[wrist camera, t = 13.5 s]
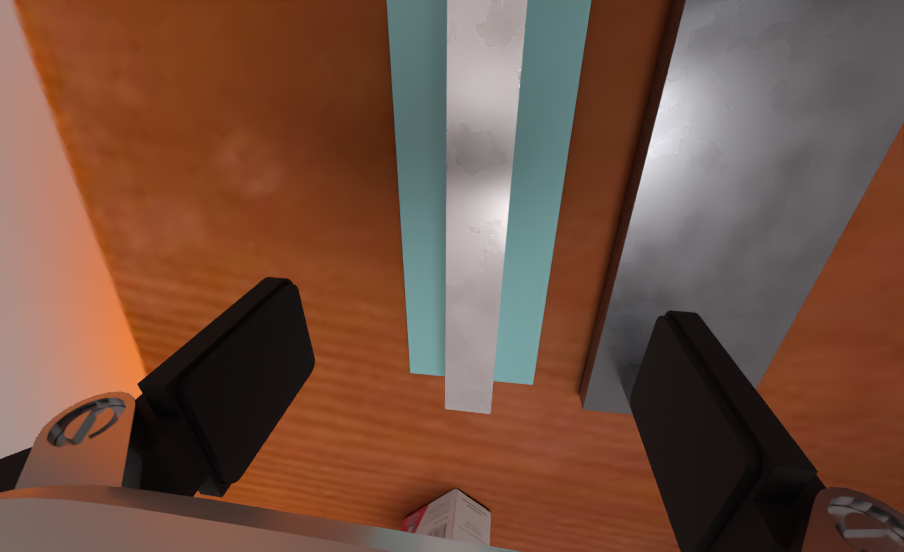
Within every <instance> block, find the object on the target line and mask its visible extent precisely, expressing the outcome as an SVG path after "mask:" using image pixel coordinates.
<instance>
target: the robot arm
mask: <svg viewBox="0 0 904 552" xmlns="http://www.w3.org/2000/svg"><path fill="white" fill-rule="evenodd" d="M314 364H315V358H314V354H313V350H312V345H311V341H310V337H309V333H308V328H307V324H306V320H305V316H304V311H303V307H302V303H301V299H300V295H299V290H298V287H297V286H296V285H294V284H293V283H292V282H291V280H289V279H285V278H273V277H267V278H265V279H263V280H262V281H261V282H260V283H258V284H257V285H256V286H255V287H254V288H252V289H251V290H250V291H249V292H248V293H246V294H245V295H244V296H243V297H242V298H240V299H239V300H238V301H237V302H236V303H234V304H233V305H232V306H231V307H229V308H228V309H227V310H226V311H225V312H223V313H222V314H221V315H220V316H219V317H217V318H216V319H215V320H214V321H213V322H211V323H210V324H209V325H208V326H207V327H205V328H204V329H203V330H202V331H201V332H199V333H198V334H197V335H196V336H195V337H193V338H192V339H191V340H190V341H189V342H187V343H186V344H185V345H184V346H183V347H181V348H180V349H179V350H178V351H176V352H175V353H174V354H173V355H172V356H170V357H169V358H168V359H167V360H166V361H164V362H163V363H162V364H161V365H160V366H158V367H157V368H156V369H155V370H154V371H152V372H151V373H150V374H149V375H148V376H146V377H145V378H144V379H143V380H142V381H140V382H139V383H138V386H139V388H140V390H141V391H142V393H143V394H142V395H140V396H139V397H138V398H137V399H136V400H135V399H134V398H133V396H131V395H130V394H129V393H124V392H109V393H104V394H100V395H96V396H93V397H90V398H88V399H85V400H83V401H80V402H79V403H76V404H75V405H73V406H71V407H69V408H67V409H65V410H64V411H63V412H61V413H60V414H58V415H57V416H55V417H54V418H53V419H52V420H51V421H49V423H47V424H46V425H45V426H44V427H43V429H42V430H41V431H40V433H39V434H38V436H37V437H36V440H35V442H34V445H33V447H31V448H28V449H25V450H23V451H21V452H18V453H15V454H12V455H10V456H7V457H4V458H2V459H0V552H520V551H514V550H509V549H503V548H497V547H492V546H486V545H480V544H474V543H468V542H462V541H456V540H451V539H445V538H439V537H433V536H427V535H421V534H415V533H409V532H403V531H398V530H392V529H386V528H380V527H374V526H368V525H362V524H356V523H350V522H344V521H338V520H332V519H326V518H320V517H314V516H308V515H302V514H296V513H290V512H283V511H277V510H271V509H265V508H259V507H253V506H247V505H241V504H234V503H228V502H222V501H216V500H210V499H204V498H197V497H193V496H194V495H195V493H196V492H197V491H198V490H199V492H200V494H204V495H210V496H216V497H223V495H224V494H225V492H226V491H227V489H228V488H229V487H230V485H231V484H232V483H235V482H237V481H238V480H239V479H240V478H241V477H242V475H243V474H244V472H245V471H246V469H247V468H248V466H249V465H250V463H251V462H252V460H253V459H254V457H255V456H256V454H257V453H258V451H259V450H260V449H261V447H262V446H263V444H264V443H265V441H266V440H267V438H268V437H269V435H270V434H271V432H272V431H273V429H274V428H275V426H276V425H277V423H278V422H279V420H280V419H281V417H282V416H283V414H284V413H285V411H286V410H287V408H288V407H289V405H290V404H291V402H292V401H293V399H294V398H295V396H296V395H297V393H298V392H299V391H300V389H301V388H302V386H303V385H304V383H305V382H306V380H307V379H308V377H309V376H310V374H311V373H312V371H313V368H314ZM630 406H631V410H632V413H633V416H634V419H635V422H636V424H637V427H638V430H639V433H640V436H641V439H642V442H643V445H644V448H645V450H646V453H647V456H648V459H649V462H650V465H651V468H652V471H653V474H654V476H655V479H656V482H657V485H658V488H659V491H660V494H661V497H662V500H663V503H664V505H665V508H666V511H667V514H668V517H669V520H670V523H671V526H672V529H673V531H674V534H675V537H676V540H677V543H678V546H679V548H680V550H681V552H904V515H903V514H901V513H900V512H898V511H897V510H895V509H893V508H892V507H890V506H889V505H887V504H885V503H884V502H882V501H880V500H877V499H875V498H873V497H871V496H869V495H867V494H864V493H861V492H858V491H855V490H851V489H848V488H839V487H829V488H826V487H825V486H824V484H823V483H822V482H821V480H820V479H819V478H818V476H817V475H816V474H817V472H818V471H817V470H816V469H815V467H814V466H813V465H812V463H811V462H810V461H809V459H808V458H807V457H806V455H805V454H804V453H803V451H802V450H801V449H800V447H799V446H798V445H797V443H796V442H795V441H794V440H793V438H792V437H791V436H790V434H789V433H788V432H787V430H786V429H785V428H784V426H783V425H782V424H781V422H780V421H779V420H778V418H777V417H776V416H775V414H774V413H773V412H772V410H771V409H770V408H769V407H768V405H767V404H766V403H765V401H764V400H763V399H762V397H761V396H760V395H759V393H758V392H757V391H756V389H755V388H754V387H753V385H752V384H751V383H750V381H749V380H748V379H747V378H746V376H745V375H744V374H743V372H742V371H741V370H740V368H739V367H738V366H737V364H736V363H735V362H734V360H733V359H732V358H731V356H730V355H729V354H728V352H727V351H726V350H725V348H724V347H723V346H722V345H721V343H720V342H719V341H718V339H717V338H716V337H715V335H714V334H713V333H712V331H711V330H710V329H709V327H708V326H707V325H706V323H705V322H704V321H703V319H702V318H701V317H700V316H699V315H698V314H697V313H695V312H685V311H672V310H670V311H667V312H666V314H665V315H664V316H659V317H658V318H657V320H656V322H655V325H654V328H653V331H652V334H651V337H650V340H649V342H648V345H647V348H646V351H645V354H644V357H643V360H642V363H641V366H640V369H639V372H638V374H637V377H636V380H635V383H634V386H633V389H632V392H631V396H630Z"/></svg>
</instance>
